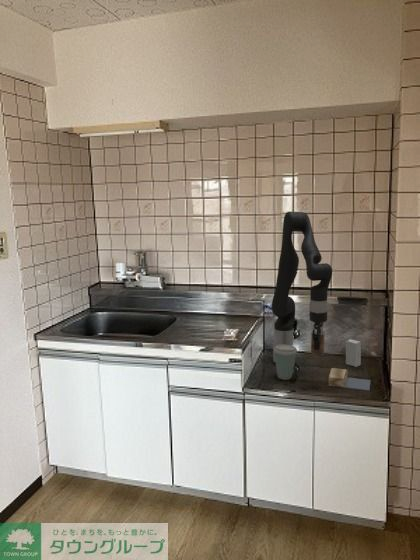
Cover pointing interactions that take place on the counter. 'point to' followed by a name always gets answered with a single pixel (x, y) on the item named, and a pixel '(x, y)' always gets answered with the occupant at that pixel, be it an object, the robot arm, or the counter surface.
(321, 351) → the walnut block
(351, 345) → the skincare box
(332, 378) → the beech step
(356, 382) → the rubber mat
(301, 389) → the counter surface
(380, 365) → the counter surface
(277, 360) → the disposable coffee cup
